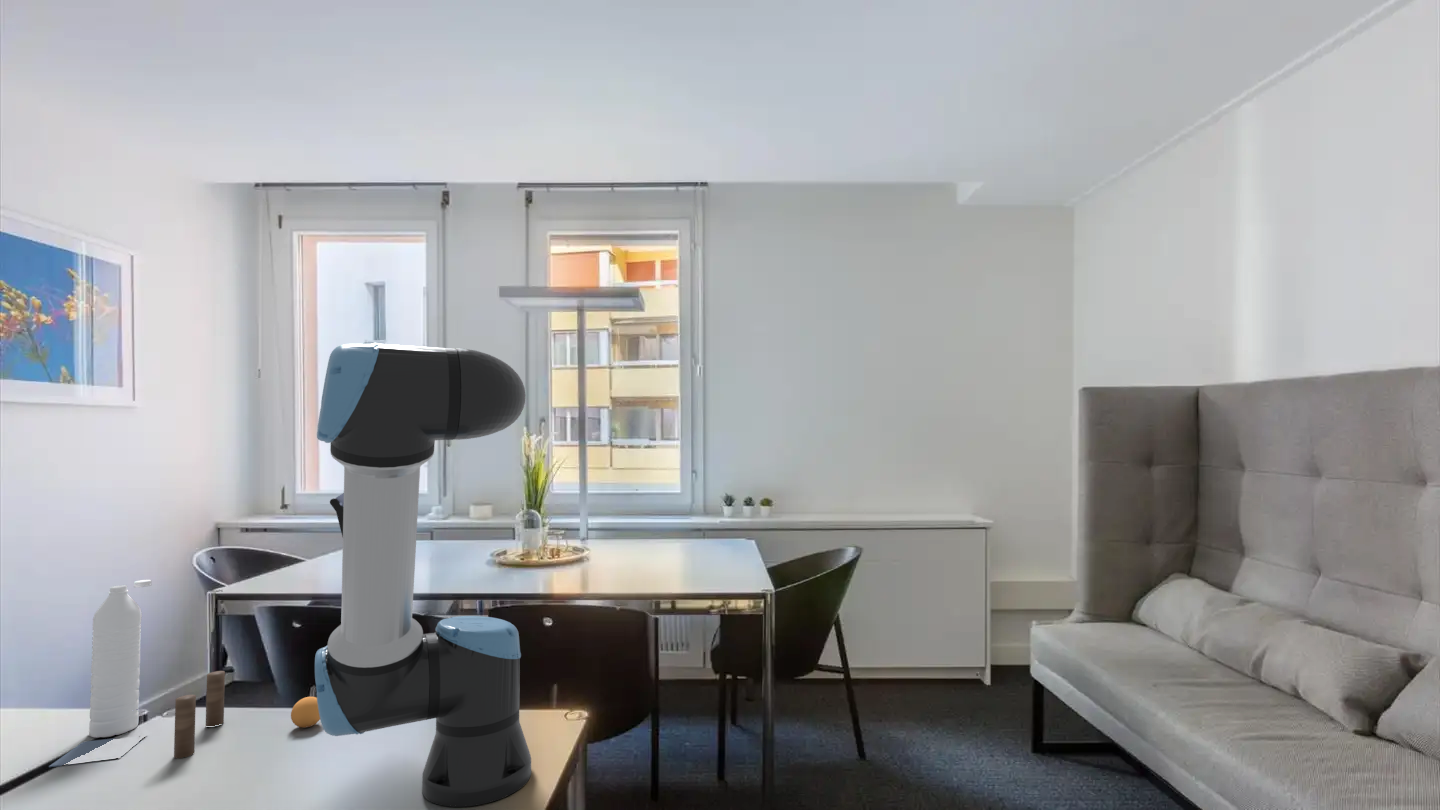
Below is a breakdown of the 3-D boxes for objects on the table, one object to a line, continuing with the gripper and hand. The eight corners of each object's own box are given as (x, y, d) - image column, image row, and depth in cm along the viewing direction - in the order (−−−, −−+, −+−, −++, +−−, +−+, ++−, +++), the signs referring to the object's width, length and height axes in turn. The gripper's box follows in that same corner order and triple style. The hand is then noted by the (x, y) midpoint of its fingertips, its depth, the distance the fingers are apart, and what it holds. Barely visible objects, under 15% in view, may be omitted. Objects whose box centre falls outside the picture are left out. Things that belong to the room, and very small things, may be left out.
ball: (319, 730, 120) (320, 700, 120) (286, 734, 118) (287, 704, 118) (326, 719, 124) (327, 690, 125) (295, 722, 123) (295, 694, 123)
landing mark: (119, 758, 109) (119, 757, 109) (48, 767, 107) (48, 766, 107) (147, 735, 118) (147, 734, 118) (82, 743, 115) (82, 741, 115)
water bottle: (109, 739, 117) (114, 590, 118) (78, 737, 118) (83, 589, 119) (160, 719, 125) (164, 580, 126) (130, 716, 126) (134, 579, 128)
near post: (190, 757, 110) (191, 699, 110) (170, 759, 109) (172, 701, 110) (197, 750, 112) (198, 693, 113) (178, 752, 112) (179, 695, 112)
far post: (220, 726, 121) (221, 674, 122) (203, 728, 121) (204, 676, 121) (226, 721, 124) (227, 670, 124) (209, 723, 123) (210, 671, 124)
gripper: (412, 457, 132) (410, 582, 131) (335, 459, 128) (333, 587, 127) (406, 459, 125) (404, 590, 124) (325, 460, 121) (323, 596, 120)
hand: (368, 588), depth 125 cm, fingers closed
